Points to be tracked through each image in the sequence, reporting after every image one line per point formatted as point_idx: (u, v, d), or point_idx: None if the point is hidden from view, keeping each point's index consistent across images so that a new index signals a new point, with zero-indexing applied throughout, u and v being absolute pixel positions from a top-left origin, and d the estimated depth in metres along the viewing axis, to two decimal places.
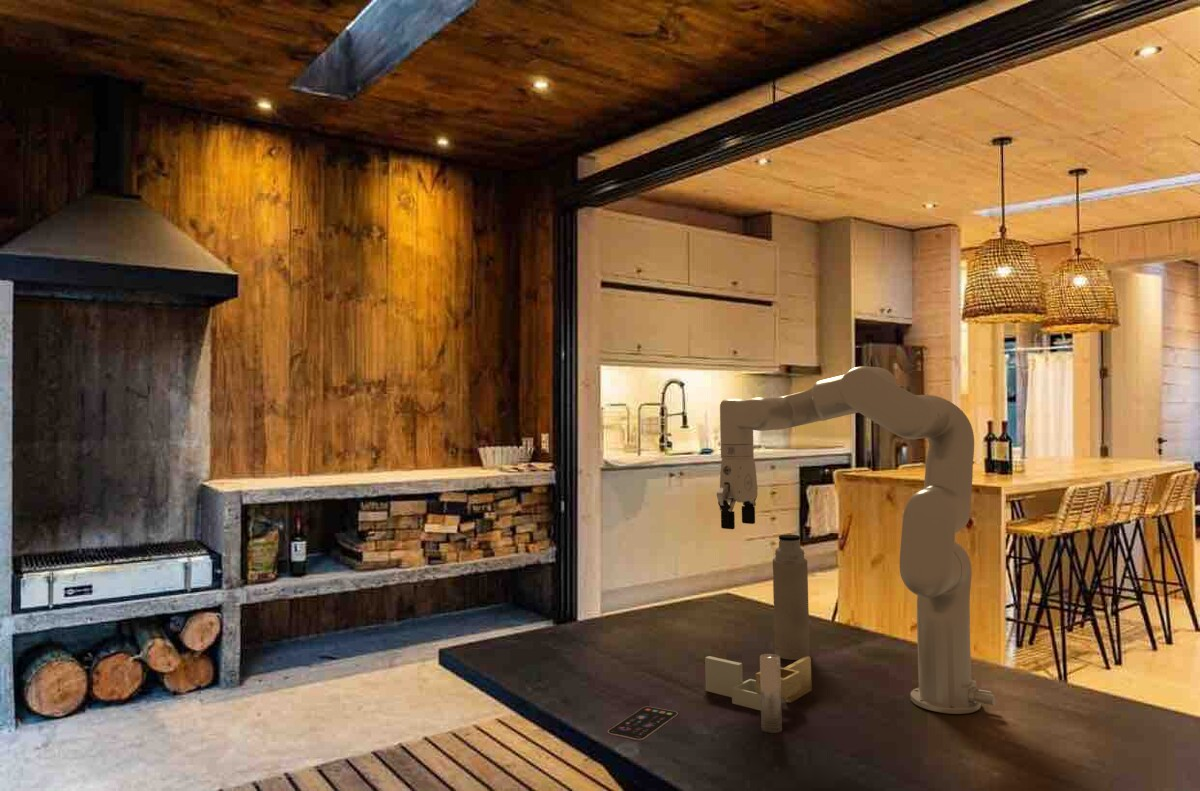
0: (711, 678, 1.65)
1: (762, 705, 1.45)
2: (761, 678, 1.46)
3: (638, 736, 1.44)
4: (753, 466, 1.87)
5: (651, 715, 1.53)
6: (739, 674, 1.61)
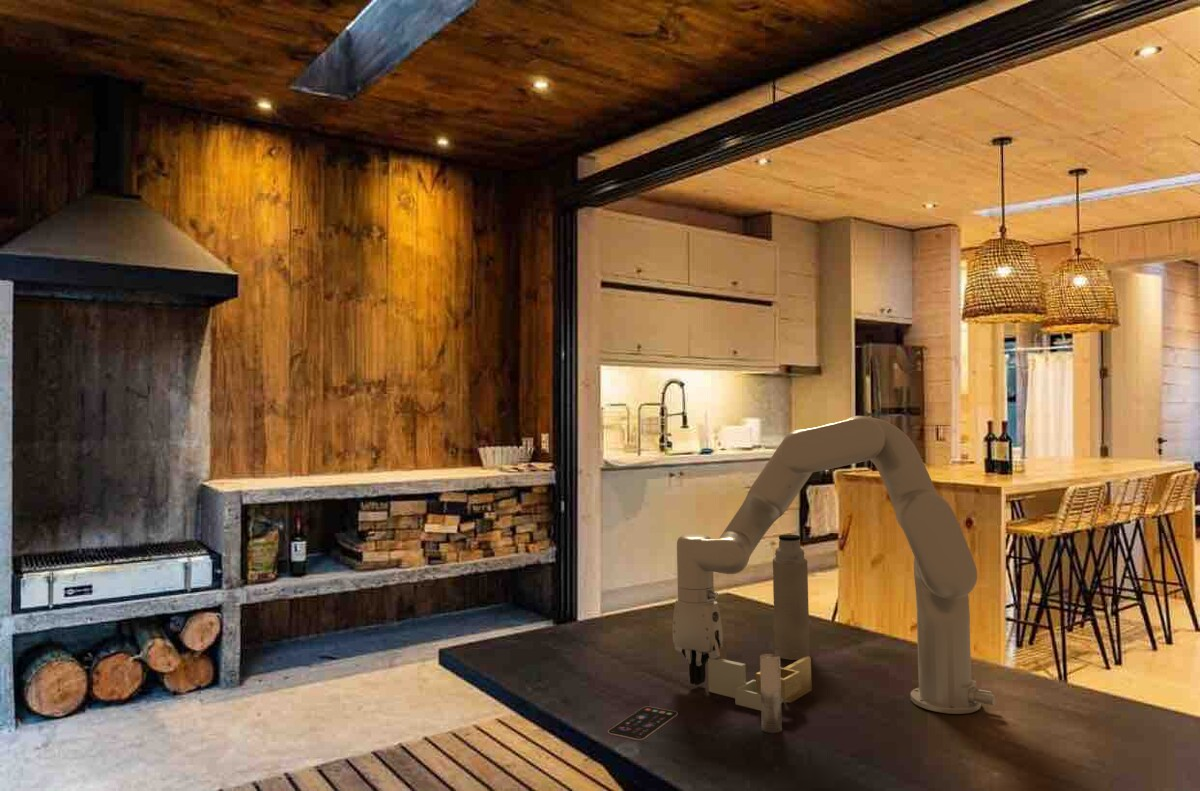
0: (714, 678, 1.65)
1: (762, 705, 1.45)
2: (761, 678, 1.46)
3: (638, 736, 1.43)
4: None
5: (651, 715, 1.53)
6: (742, 675, 1.61)
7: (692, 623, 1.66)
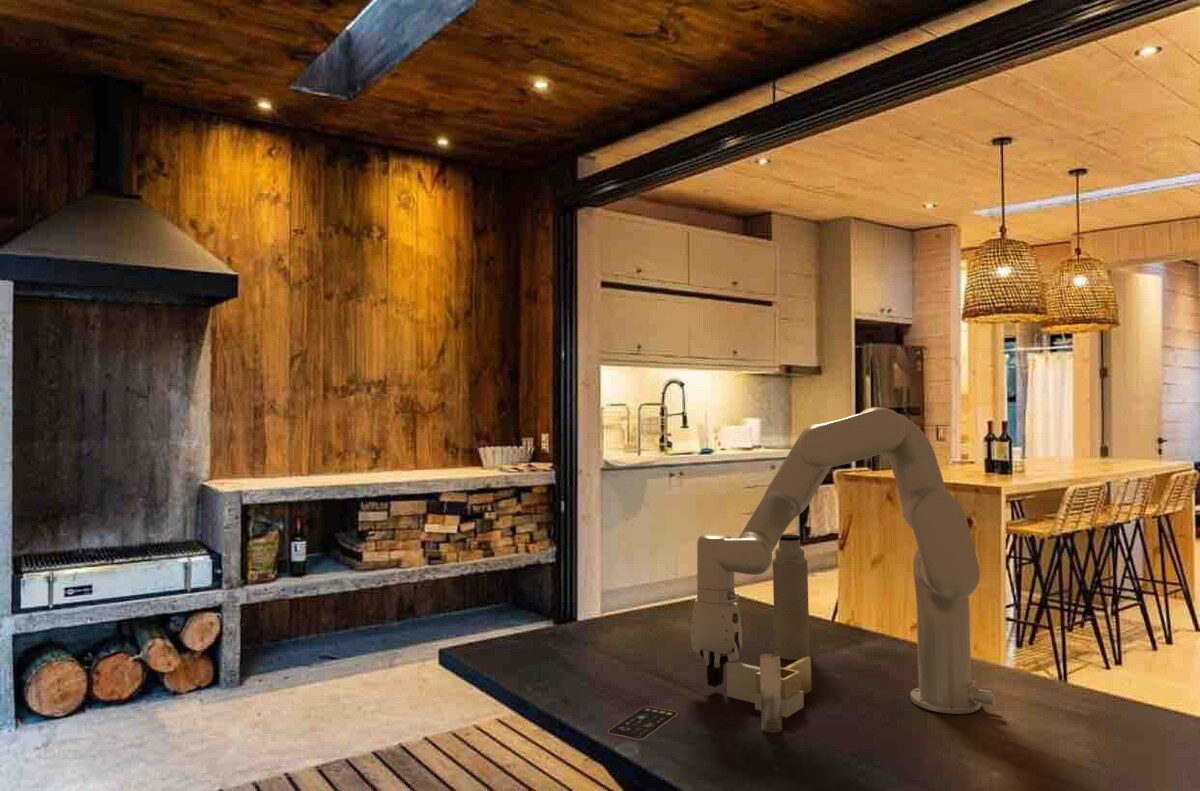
0: (732, 683, 1.62)
1: (762, 705, 1.45)
2: (761, 678, 1.46)
3: (638, 736, 1.43)
4: None
5: (651, 715, 1.53)
6: None
7: (711, 624, 1.63)
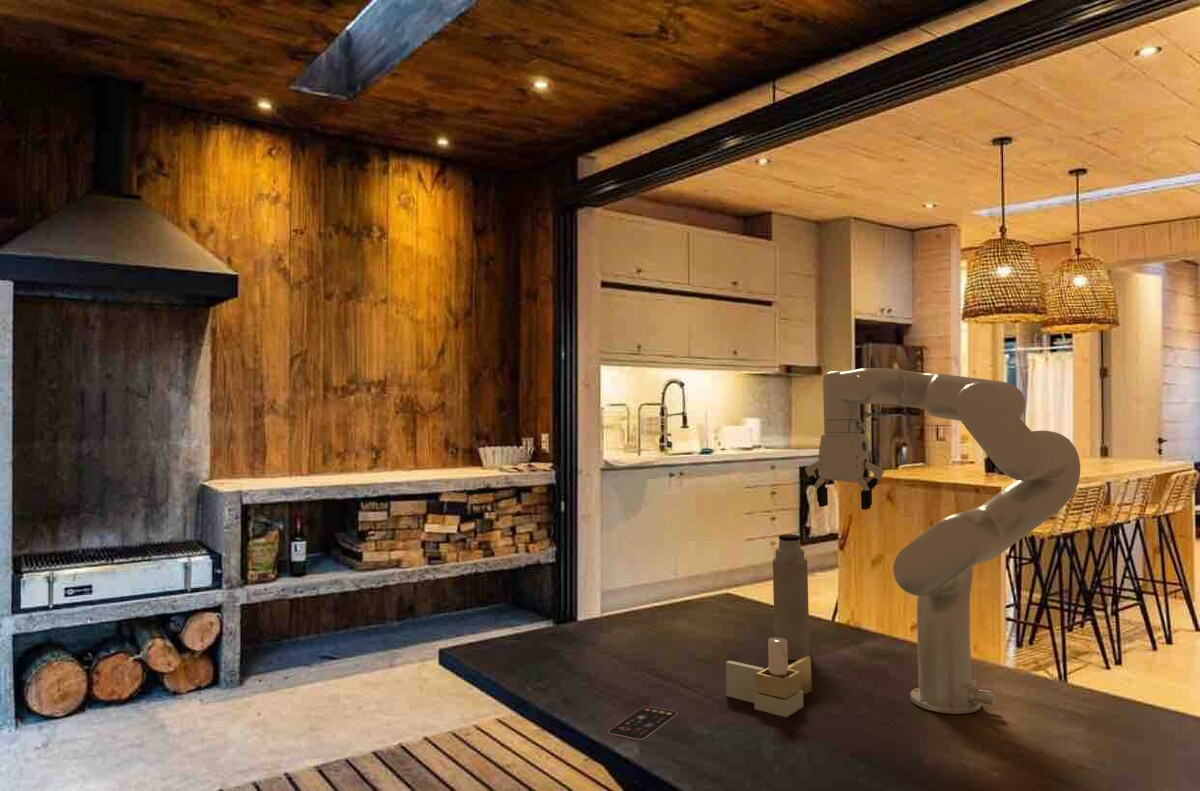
0: (732, 683, 1.62)
1: None
2: (769, 660, 1.56)
3: (638, 736, 1.43)
4: None
5: (650, 715, 1.53)
6: None
7: (841, 453, 1.71)
